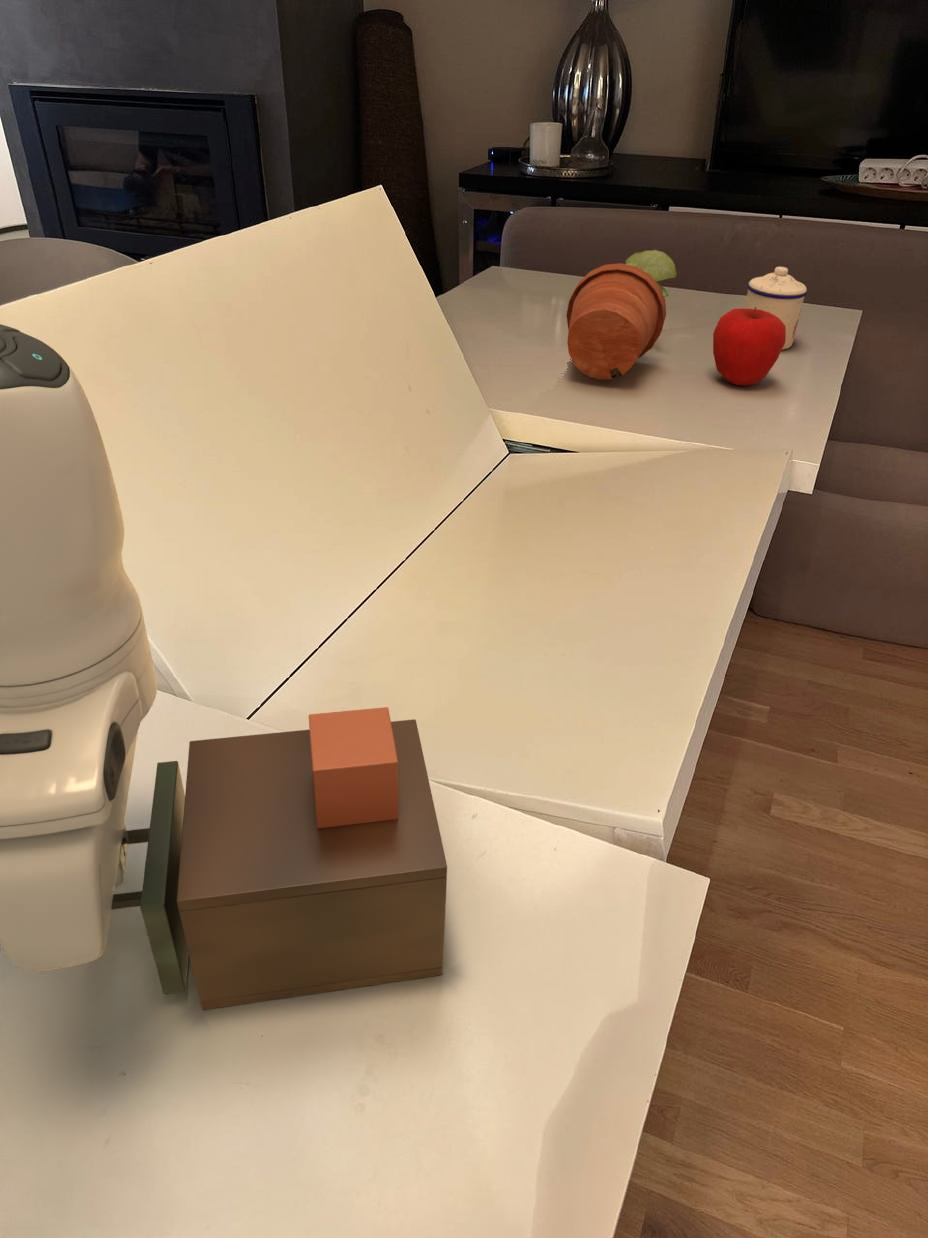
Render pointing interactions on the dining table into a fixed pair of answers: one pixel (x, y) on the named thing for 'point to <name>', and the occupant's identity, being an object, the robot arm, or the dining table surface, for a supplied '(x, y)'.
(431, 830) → the cabinet
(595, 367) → the potted plant
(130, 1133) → the dining table surface
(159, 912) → the drawer
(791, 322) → the teacup with lid
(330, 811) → the block
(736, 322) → the apple
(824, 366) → the dining table surface
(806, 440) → the dining table surface
